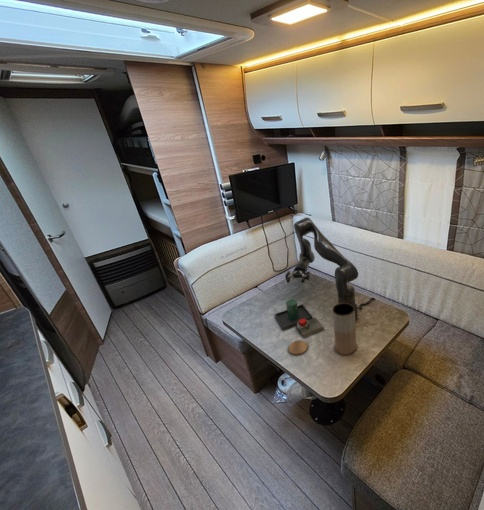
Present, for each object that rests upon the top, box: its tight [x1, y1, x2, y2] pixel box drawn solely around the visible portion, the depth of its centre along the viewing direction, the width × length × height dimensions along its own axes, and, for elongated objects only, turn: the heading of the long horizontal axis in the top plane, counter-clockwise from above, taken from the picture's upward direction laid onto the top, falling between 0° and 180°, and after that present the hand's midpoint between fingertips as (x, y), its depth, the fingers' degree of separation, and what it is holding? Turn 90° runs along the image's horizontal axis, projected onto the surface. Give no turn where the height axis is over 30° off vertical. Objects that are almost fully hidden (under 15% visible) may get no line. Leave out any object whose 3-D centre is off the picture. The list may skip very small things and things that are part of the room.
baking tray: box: [274, 304, 313, 331], centre depth 159 cm, size 17×14×2 cm
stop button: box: [299, 319, 306, 325], centre depth 148 cm, size 4×4×2 cm
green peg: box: [285, 298, 299, 320], centre depth 157 cm, size 6×6×10 cm
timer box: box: [296, 317, 324, 338], centre depth 149 cm, size 12×10×4 cm
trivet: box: [288, 340, 308, 356], centre depth 137 cm, size 9×9×1 cm
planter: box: [332, 303, 357, 355], centre depth 131 cm, size 10×10×23 cm
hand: (294, 281), depth 162 cm, fingers open, 8 cm apart
